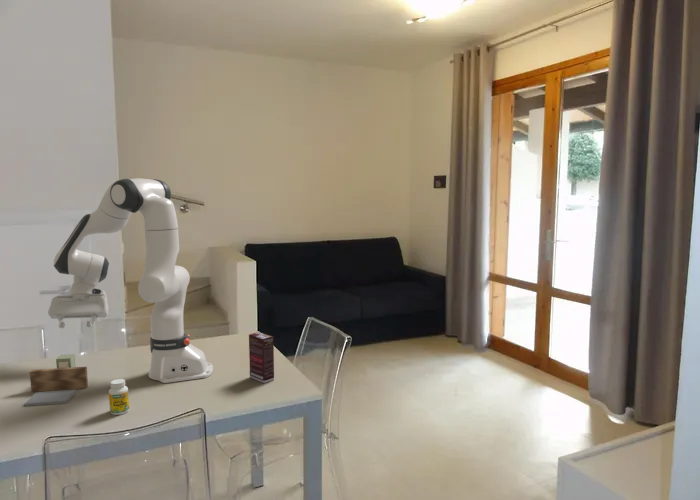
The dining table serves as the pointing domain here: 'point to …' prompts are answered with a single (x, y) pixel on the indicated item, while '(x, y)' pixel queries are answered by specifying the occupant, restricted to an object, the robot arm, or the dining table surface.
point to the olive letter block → (66, 361)
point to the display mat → (50, 397)
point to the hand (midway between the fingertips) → (75, 327)
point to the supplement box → (261, 357)
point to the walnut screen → (58, 379)
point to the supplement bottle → (118, 397)
